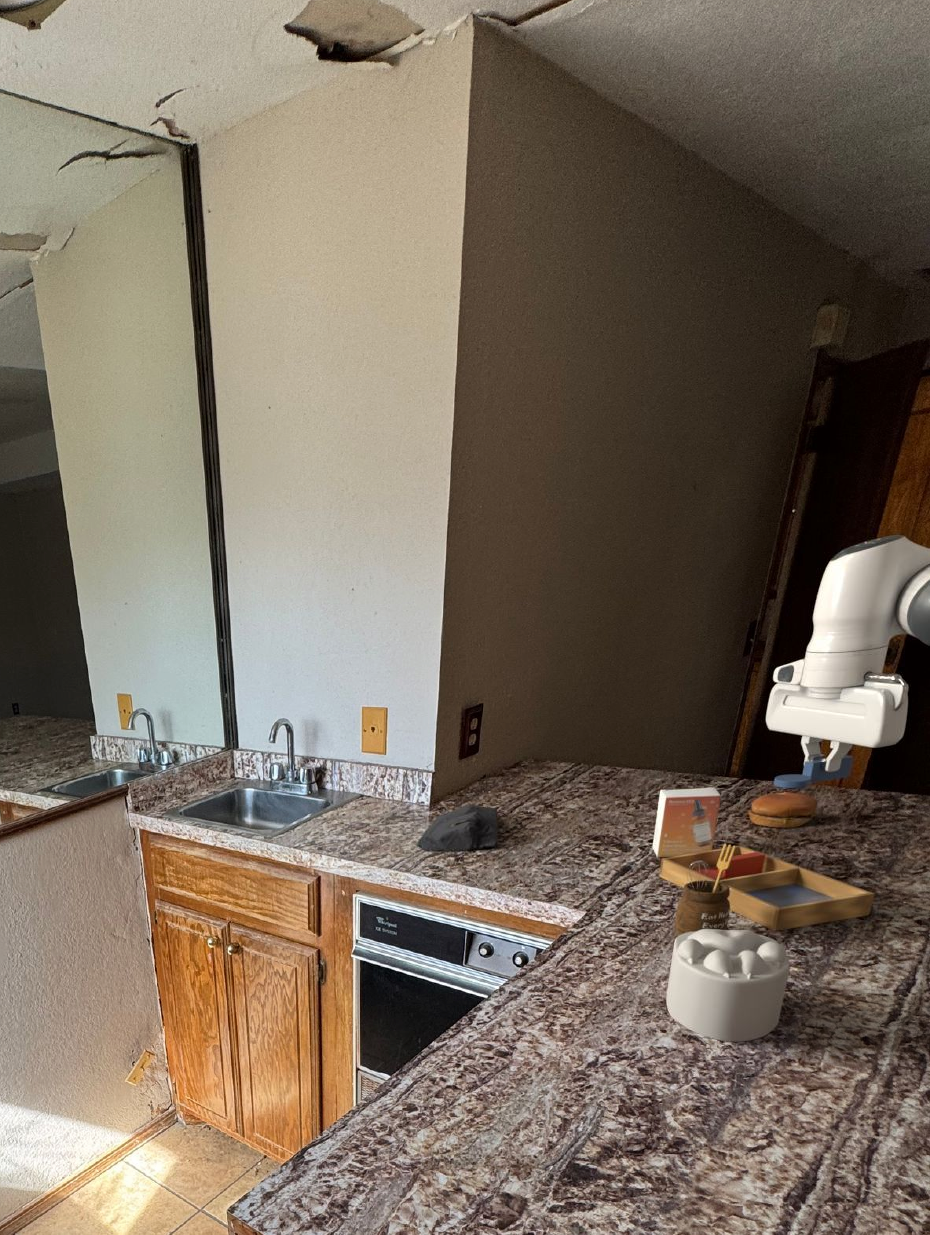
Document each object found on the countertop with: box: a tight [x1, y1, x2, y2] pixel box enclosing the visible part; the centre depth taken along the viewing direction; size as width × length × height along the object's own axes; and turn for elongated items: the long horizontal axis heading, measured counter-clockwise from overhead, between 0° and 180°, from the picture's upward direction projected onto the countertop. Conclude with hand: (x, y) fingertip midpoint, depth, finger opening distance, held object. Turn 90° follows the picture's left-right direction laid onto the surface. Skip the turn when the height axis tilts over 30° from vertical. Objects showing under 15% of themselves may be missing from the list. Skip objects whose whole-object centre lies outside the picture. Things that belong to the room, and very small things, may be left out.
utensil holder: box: [674, 843, 737, 937], centre depth 103 cm, size 6×6×12 cm
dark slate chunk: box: [415, 804, 500, 852], centre depth 158 cm, size 15×22×5 cm
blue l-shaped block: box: [773, 754, 854, 789], centre depth 115 cm, size 10×4×3 cm, turn 94°
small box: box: [652, 786, 722, 858], centre depth 131 cm, size 8×6×10 cm
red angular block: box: [696, 851, 765, 880], centre depth 119 cm, size 10×4×3 cm, turn 95°
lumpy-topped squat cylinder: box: [665, 929, 791, 1043], centre depth 87 cm, size 10×13×9 cm
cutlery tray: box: [658, 845, 875, 932], centre depth 114 cm, size 13×24×3 cm, turn 5°
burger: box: [747, 791, 818, 829], centre depth 139 cm, size 10×9×5 cm
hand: (820, 768), depth 115 cm, fingers closed on blue l-shaped block
